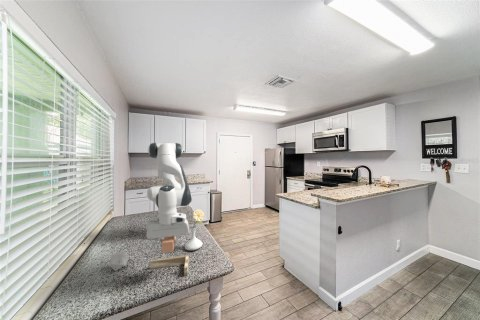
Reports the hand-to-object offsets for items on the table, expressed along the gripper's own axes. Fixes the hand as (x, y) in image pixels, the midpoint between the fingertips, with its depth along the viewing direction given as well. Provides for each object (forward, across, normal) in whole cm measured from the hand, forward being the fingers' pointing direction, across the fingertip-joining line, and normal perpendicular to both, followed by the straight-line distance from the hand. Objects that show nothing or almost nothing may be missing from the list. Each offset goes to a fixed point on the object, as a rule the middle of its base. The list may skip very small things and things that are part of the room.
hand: (169, 244), depth 92 cm
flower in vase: (+15, +12, +23) cm, 30 cm away
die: (+15, -28, +12) cm, 34 cm away
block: (+2, 0, 0) cm, 2 cm away
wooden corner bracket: (+15, -1, +2) cm, 15 cm away
